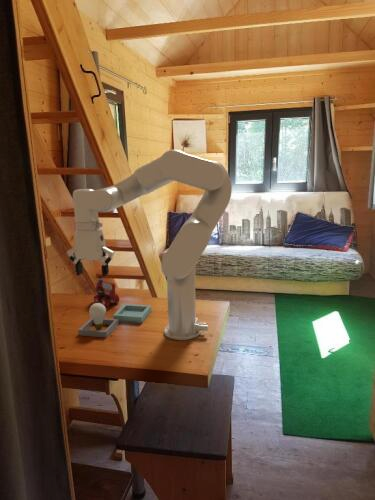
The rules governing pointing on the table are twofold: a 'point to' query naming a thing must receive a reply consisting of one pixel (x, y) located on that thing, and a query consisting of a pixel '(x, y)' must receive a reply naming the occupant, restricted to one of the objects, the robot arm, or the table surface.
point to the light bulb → (97, 314)
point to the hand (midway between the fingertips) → (92, 274)
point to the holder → (98, 333)
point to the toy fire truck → (105, 293)
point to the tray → (132, 313)
